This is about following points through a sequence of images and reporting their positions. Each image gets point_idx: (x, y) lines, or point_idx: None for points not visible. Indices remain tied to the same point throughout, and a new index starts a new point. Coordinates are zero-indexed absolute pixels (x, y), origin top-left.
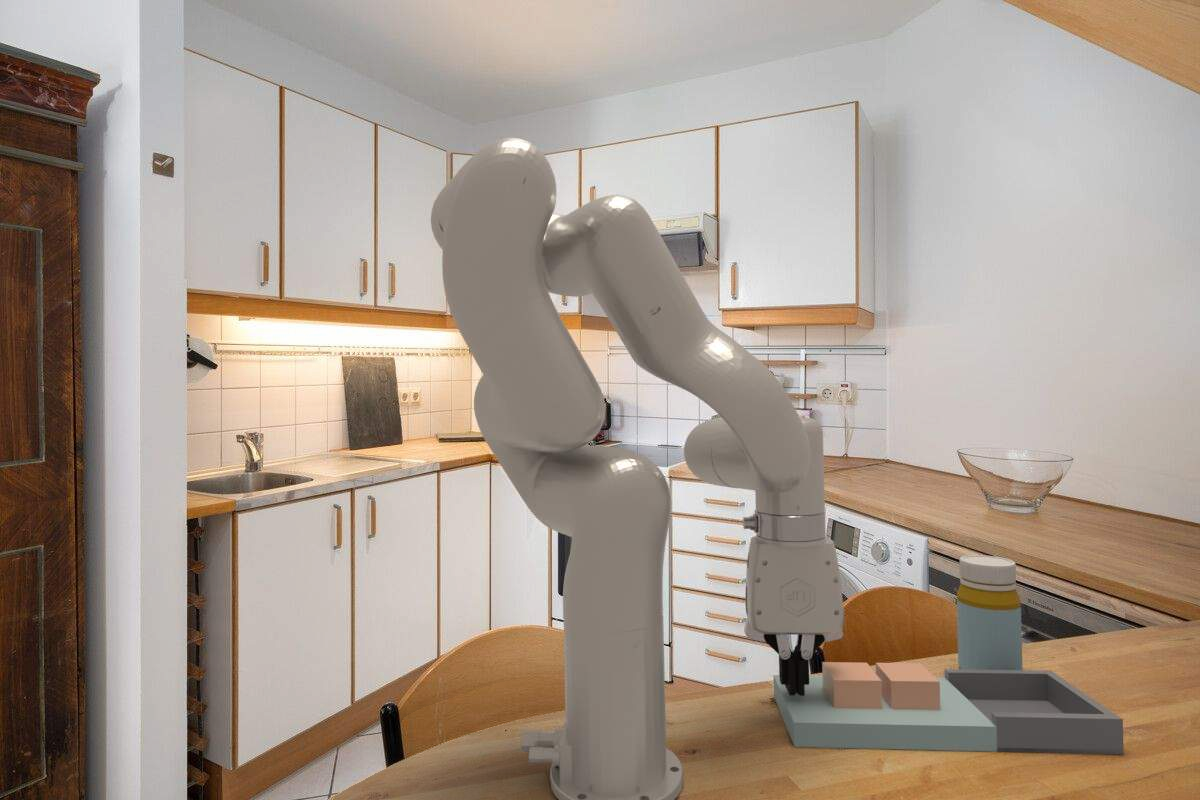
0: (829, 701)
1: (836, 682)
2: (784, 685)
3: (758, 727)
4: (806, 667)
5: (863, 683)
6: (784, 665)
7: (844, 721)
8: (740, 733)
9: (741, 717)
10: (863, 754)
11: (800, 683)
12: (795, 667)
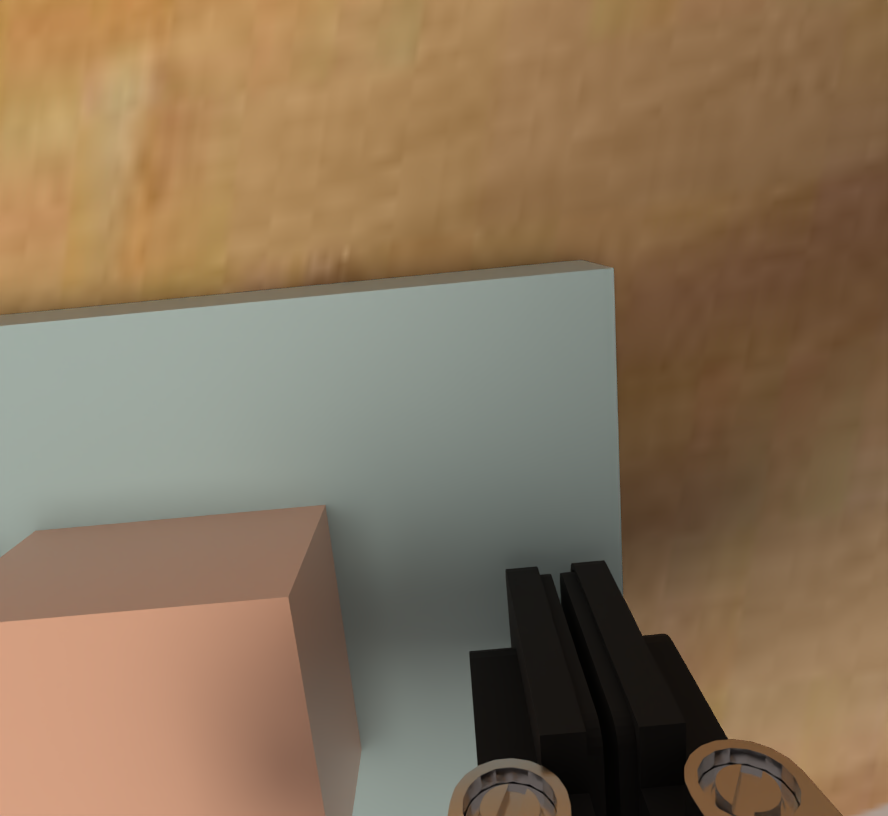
0: (344, 586)
1: (271, 586)
2: None
3: (737, 446)
4: (496, 730)
5: (62, 605)
6: (693, 724)
7: (286, 329)
8: (845, 369)
9: (808, 540)
10: (230, 233)
11: (543, 607)
12: (604, 690)
